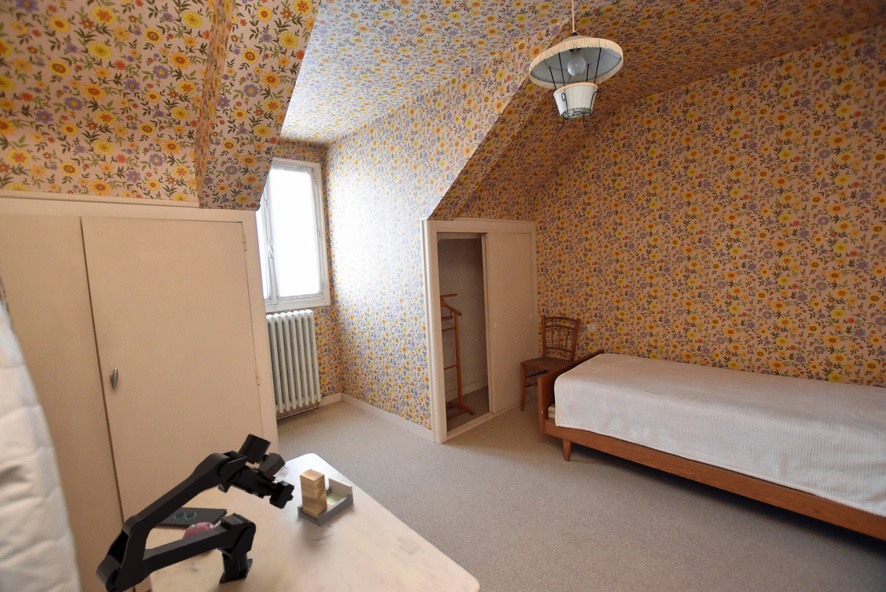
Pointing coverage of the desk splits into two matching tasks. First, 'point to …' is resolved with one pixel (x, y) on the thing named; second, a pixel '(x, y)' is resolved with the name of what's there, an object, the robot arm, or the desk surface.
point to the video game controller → (198, 529)
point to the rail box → (331, 502)
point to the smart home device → (193, 517)
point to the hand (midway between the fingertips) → (287, 495)
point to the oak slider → (313, 492)
